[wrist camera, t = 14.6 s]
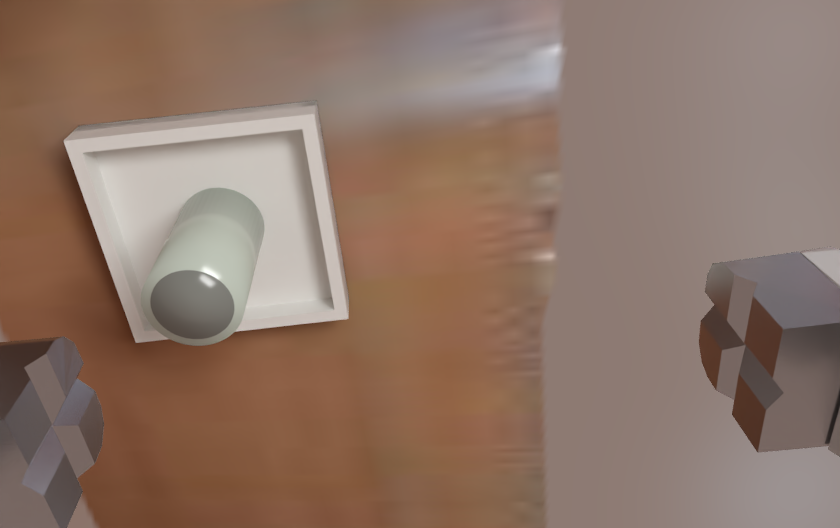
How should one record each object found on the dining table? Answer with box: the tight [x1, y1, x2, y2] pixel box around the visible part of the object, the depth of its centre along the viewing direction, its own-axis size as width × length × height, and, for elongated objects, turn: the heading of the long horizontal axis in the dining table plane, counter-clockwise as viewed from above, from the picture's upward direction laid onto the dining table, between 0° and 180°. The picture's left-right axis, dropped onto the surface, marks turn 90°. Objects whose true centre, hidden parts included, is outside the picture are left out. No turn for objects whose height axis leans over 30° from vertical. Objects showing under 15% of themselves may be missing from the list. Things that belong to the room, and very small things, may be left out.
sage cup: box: [141, 188, 265, 346], centre depth 41 cm, size 5×5×9 cm
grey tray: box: [64, 101, 349, 343], centre depth 44 cm, size 14×14×2 cm
